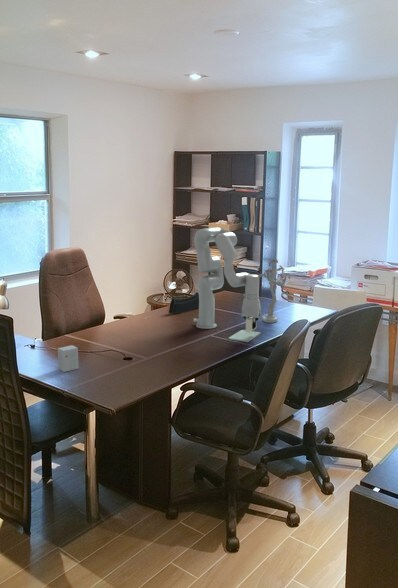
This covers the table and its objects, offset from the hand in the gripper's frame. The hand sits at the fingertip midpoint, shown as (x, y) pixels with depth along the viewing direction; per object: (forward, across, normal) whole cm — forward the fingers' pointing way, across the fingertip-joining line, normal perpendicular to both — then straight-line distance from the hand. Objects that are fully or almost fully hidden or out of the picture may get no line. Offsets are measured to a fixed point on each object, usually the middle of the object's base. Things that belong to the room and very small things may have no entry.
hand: (251, 327), depth 334 cm
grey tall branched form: (+6, -4, +44) cm, 45 cm away
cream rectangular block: (+1, 0, 0) cm, 1 cm away
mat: (+6, -4, +1) cm, 7 cm away
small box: (+6, -56, -92) cm, 108 cm away
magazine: (+5, -63, +40) cm, 75 cm away
